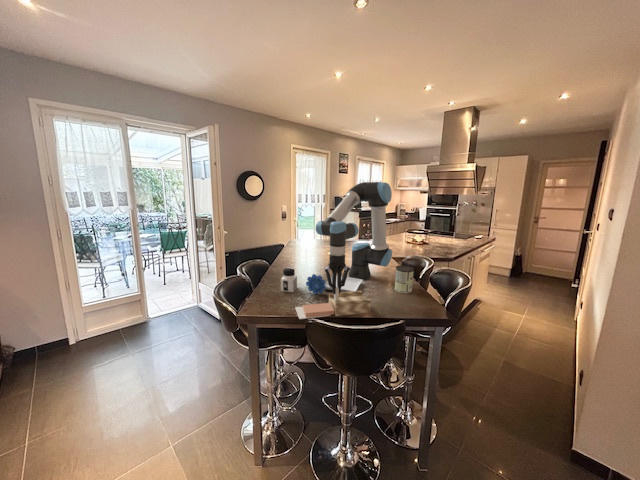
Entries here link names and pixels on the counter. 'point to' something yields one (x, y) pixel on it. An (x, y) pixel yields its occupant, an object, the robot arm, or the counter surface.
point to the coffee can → (404, 279)
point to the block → (318, 309)
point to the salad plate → (347, 284)
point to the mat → (302, 315)
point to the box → (350, 303)
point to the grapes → (316, 284)
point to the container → (288, 280)
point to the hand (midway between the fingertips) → (336, 299)
